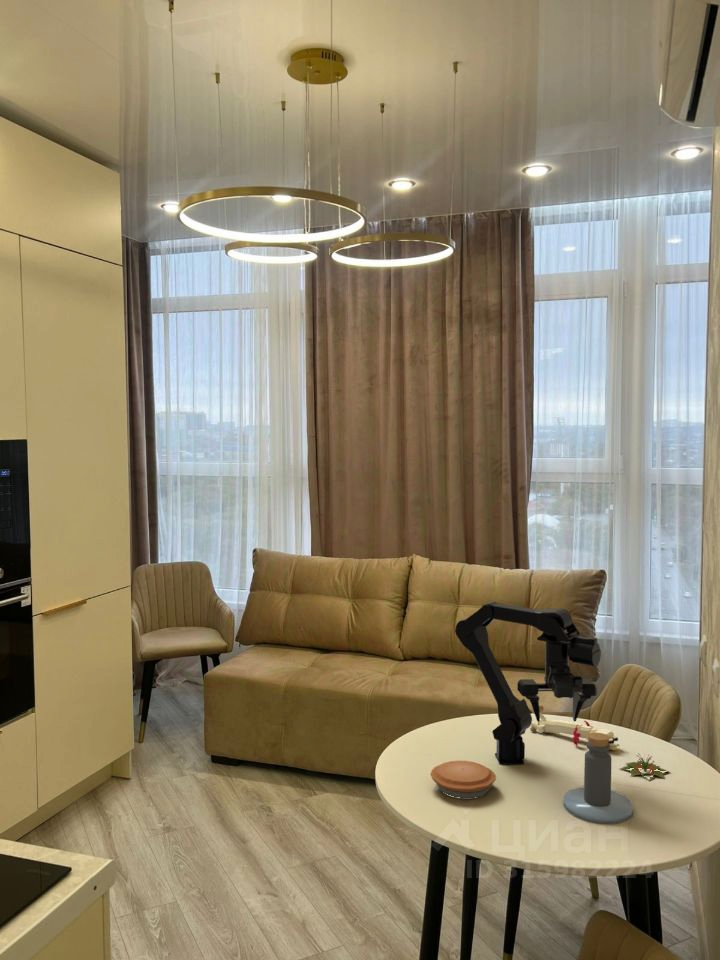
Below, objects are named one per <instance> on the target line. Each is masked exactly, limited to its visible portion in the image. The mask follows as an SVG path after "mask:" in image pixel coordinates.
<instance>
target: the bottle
mask: <svg viewBox="0 0 720 960" xmlns="http://www.w3.org/2000/svg"><path fill="white" fill-rule="evenodd" d="M588 740H589V741H588ZM588 740H587V741H586V748H587V749H588V750H587V751H586V752H585V753H584V767H583V768H584V775H583V778H584V779H583V787H584V800H585V802H587V803H588V804H590V805H594V806H608V805H609V804H610V803H611V791H612V755H611V754H610V753H609V751H611V750H610V745H609V744H608V742H609V736H608V735H606V734H603V733H590V734H588Z"/></svg>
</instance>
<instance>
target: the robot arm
mask: <svg viewBox="0 0 720 960" xmlns="http://www.w3.org/2000/svg"><path fill="white" fill-rule="evenodd" d="M494 620H498V621H503V622H509V623H514V624H519V625H525V626H530V627H533V628H535V629H537V630H538V631H539V632H542V633H541V635H539V636H538V637H537V638H536V640H537V641H541V642H545V645H544V646H545V647H544V649H545V650H544V651H545V658H544V659H545V660H544V664H543V665H544V677H543V679H544V680H543V681H544V683H541V682H540V683H538V682H536V681H535V680H534V679H533V678H532V679H531V678H530V679H529V678H528V679H525V678H523V679H519V680H518V682H517V687H516V688H517V689H516V690H517V691H518V692H519V695H521V696H522V697H525V698H526V699H527V700H528V701H529V702H530V704H531V706H532V707H531V708H532V709H533V712H532V710H531V709H530V707H528V703H527V701H526V699H525V698H523V699H521V700H519V698H517V697H516V696H515V695H514V693H513V691H512V689H511V687H510V685H509V682H508V681H507V679H506V677H505V675H504V673H503V671H502V669H501V667H500V666H499V663H498V661H497V659H496V657H495V655H494V654H493V652H492V650H491V648H490V644H489V633H488V630H487V628H488V626H489V625H490V624H491V623H492V622H493V621H494ZM454 633H455V635H456V636H455V637H457V639H458V640H459V642H460V643H461V645H462V646H463V647H464V648H465V649H467V650H468V651H469V652H470V653H471V654H472V656H473V658H474V659H475V662H476V663H477V665H478V667H479V669H480V671H481V674H482V675H483V677H484V680H485V682H486V683H487V686H488V687H489V690H490V691H491V693H492V696H493V698H494V699H495V701H496V704H497V716H498V720H499V722H500V724H499V725H498V726H496V728H495V729H493V730H492V735H493V738H494V740H496V752H495V753H494V756H495V758H496V760H497V762H498V764H499V765H524V764H525V760H524V759H525V757H526V755H525V754H526V753H525V752H526V751H525V749H526V747H525V746H526V744H525V741H524V740H523V739H524V738H523V737H522V735H525V732H526V731H527V729H529V728H531V723H532V722H533V718H532V715H531V714H534V716H535V719H536V721H537V723H538V722H539V721H540V719H541V718H540V713H539V705H540V704H539V703H540V697H539V695H538V694H539V692H553V696H554V697H555V698H557V699H562V698H569V699H572V720H573V722H576V721H577V719H578V717H579V714H580V711H581V709H582V707H583V705H584V704H585V702H586V701H587V700H590V699H592V697H596V696H597V694H598V691H597V690H598V689H597V685H596V684H595V683H594V682H593V681H592V680H591V679H589V678H583V677H582V676H573V675H572V674H571V667H570V663H569V662H570V661H571V662H572V664H577V665H584V666H590V667H595V668H596V667H598V666H599V664H600V661H601V656H602V650H601V648H600V644H599V643H598V638H597V637H586V636H582V634H581V633H580V631H579V629H578V627H577V626H576V624H575V623H574V622H573V617H572V615H571V614H570V612H569V611H568V610H567V609H565V608H562V607H561V608H560V607H559V608H544V609H543V608H542V609H534V608H529V607H522V606H517V605H511V604H505V603H504V604H503V603H499V602H496V601H490V602H487V603H485V604H483V605H482V606H481V607H480V608H479V609H478V610H476V611H475V612H474V613H473V614H470V615H469V616H468V617H467V618H464V619H462V620H460V621H458V622H457V623H456V625H455V628H454Z"/></svg>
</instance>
